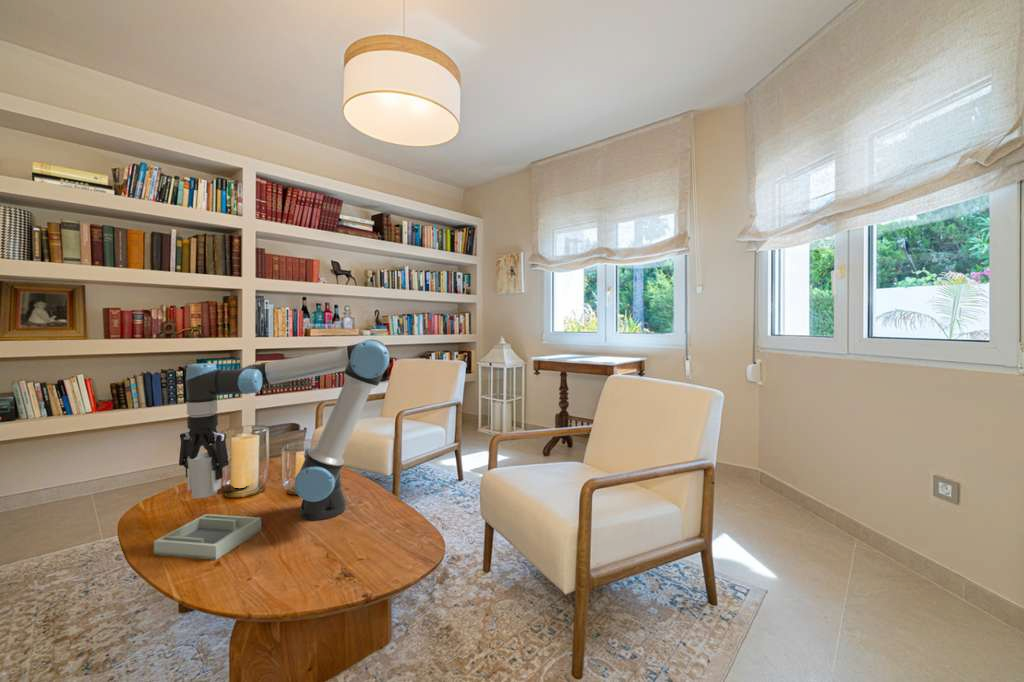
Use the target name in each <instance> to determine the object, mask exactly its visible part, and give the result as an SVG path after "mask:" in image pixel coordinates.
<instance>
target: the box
mask: <svg viewBox="0 0 1024 682" xmlns="http://www.w3.org/2000/svg"><path fill="white" fill-rule="evenodd" d="M260 531H262V517H258V516H257V517H254V516H243V515H242V516H241V515H240V516H239V515H226V514H212V513H205V514H203V515H201V516H199V517H197V518H196V519H193V520H191V521H189V522H188V523H185V524H184V525H181V526H180V527H179V528H176V529H174V530H172V531H171V532H168V533H166V534H165V535H163V536H160V537H159V538H157V539H155V540H154V541H153V555H155V556H167V557H175V558H176V557H178V558H188V559H203V560H213V561H217V560H218V559H219V558H221V557H223V556H224V555H225V554H227V553H229V552H230V551H232V550H234V549H235V548H237V546H239V545H241V544H242V543H244V542H245V541H247V540H248V539H250V538H252V537H253V536H254V535H256V534H257V533H259V532H260Z"/></svg>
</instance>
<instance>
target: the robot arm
mask: <svg viewBox="0 0 1024 682" xmlns="http://www.w3.org/2000/svg"><path fill="white" fill-rule="evenodd" d="M389 364H390V353H389V350H388V348H387V346H386V345H385V344H384V343H383V342H382V341H379V340H377V339H373V338H372V339H366V340H364V341H361V342H358V343H354V344H350V345H346V346H345V347H344V348H343V349H337V350H333V351H332V350H331V351H326V352H322V353H321V352H320V353H316V354H311V355H310V354H309V355H304V356H299V357H297V356H296V357H293V358H292V357H291V358H287V359H286V358H285V359H281V360H275V361H270V362H269V361H268V362H265V363H263V362H262V363H258V364H249V365H247V366H245V367H241V368H236V369H218V368H217V365H216V364H215V363H214V362H213V363H211V362H209V363H208V362H206V363H205V362H204V363H193V364H192V363H191V364H188V366H187V367H186V370H185V371H186V373H185V375H186V376H185V387H186V388H185V389H186V415H187V418H186V419H187V420H186V421H187V423H186V424H187V425H186V426H187V429H188V430H189V431H186V432H183V433H180V434H179V438H180V447H179V448H180V449H179V459H178V466H183V467H184V469H185V478H186V479H187V490H188V491H192V488H191V480H190V472H189V467H188V460H187V457H188V456H190V459H194V458H196V457H197V455H198V453H200V449H201V447H202V446H203V449H205V450H206V452H208V455H209V457H212V460H211V463H212V465H213V468H214V469H212V470H211V483H212V491H216V490H217V491H218V490H221V488H222V479H223V468H225V467H227V466H229V465H230V463H229V456H228V448H227V443H226V440H227V433H218V430H217V427H218V424H219V423H218V422H219V420H218V416H219V415H218V414H217V412H218V395H242V394H243V395H249V394H257V393H259V392H260V391H261V388H262V387H264V386H269V385H274V384H275V385H276V384H281V383H286V382H291V381H296V380H302V379H306V378H312V377H318V376H324V375H329V374H330V375H331V374H334V373H340V372H343V375H344V378H345V382H344V383H343V386H342V387H341V390H340V391H339V395H338V396H337V399H336V401H335V403H334V406H333V409H332V410H331V413H330V415H329V416H328V419H327V421H326V423H325V425H324V428H323V431H322V433H321V436H320V438H319V439H318V442H317V444H316V446H311V447H309V448H306V449H305V450H304V455H303V457H304V461H303V463H302V465H301V467H300V470H299V472H298V473H297V474H296V476H295V478H294V485H293V486H294V491H295V493H296V494H297V495H298V497H299V498H301V500H302V501H301V505H300V508H299V509H300V510H299V511H300V512H299V513H300V517H301V518H302V519H305V520H311V521H318V520H319V521H321V520H326V519H330V518H333V517H337V516H339V515H341V514H342V513H344V512H345V511H346V510H347V499H346V497H345V493H344V491H343V488H342V475H341V474H342V473H341V471H342V468H343V466H344V463H345V459H344V458H343V454H344V452H345V450H346V447H347V445H348V444H349V441H350V439H351V436H352V433H353V432H354V430H355V427H356V425H357V422H358V421H359V418H360V415H361V413H362V411H363V409H364V406H365V405H366V402H367V400H368V398H369V395H370V393H371V391H372V390H373V389H374V388H376V387H377V388H378V386H379V385H380V382H381V380H382V378H383V375H384V373H385V371H386V370H387V368H388V367H389ZM217 464H218V465H217Z"/></svg>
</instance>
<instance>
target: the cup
mask: <svg viewBox="0 0 1024 682" xmlns="http://www.w3.org/2000/svg"><path fill="white" fill-rule="evenodd" d="M187 460H188V467H189V472H190V480H191V488H192V489H191V498H192V499H204V498H208V497H212V496H215V495H216V494H217V493H218V490H216V491H212V483H211V470H212V469H214V468H213V465H212V463H211V460H212V457H209V455H208V452H207V451H203V452H198V455H197V457H196V458H194V459H190V456H188V457H187ZM217 465H218V464H217Z"/></svg>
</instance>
